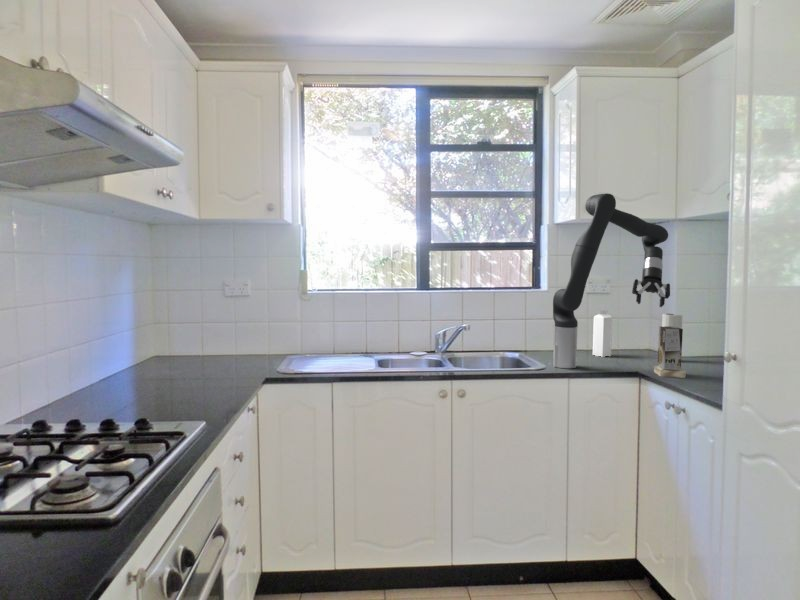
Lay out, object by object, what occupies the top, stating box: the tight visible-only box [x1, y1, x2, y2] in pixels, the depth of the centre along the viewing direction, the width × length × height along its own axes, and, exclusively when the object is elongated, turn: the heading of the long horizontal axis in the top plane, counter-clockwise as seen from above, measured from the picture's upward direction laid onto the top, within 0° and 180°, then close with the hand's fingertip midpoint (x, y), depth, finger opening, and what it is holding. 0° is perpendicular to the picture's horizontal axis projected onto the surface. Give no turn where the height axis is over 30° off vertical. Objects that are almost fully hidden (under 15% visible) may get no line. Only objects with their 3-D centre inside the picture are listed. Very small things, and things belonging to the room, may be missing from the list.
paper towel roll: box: [661, 313, 683, 329], centre depth 232 cm, size 7×6×21 cm
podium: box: [653, 365, 687, 379], centre depth 202 cm, size 9×9×3 cm
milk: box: [592, 309, 613, 358], centre depth 243 cm, size 6×6×22 cm
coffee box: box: [657, 326, 684, 370], centre depth 202 cm, size 9×6×16 cm
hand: (650, 304), depth 212 cm, fingers open, 8 cm apart
